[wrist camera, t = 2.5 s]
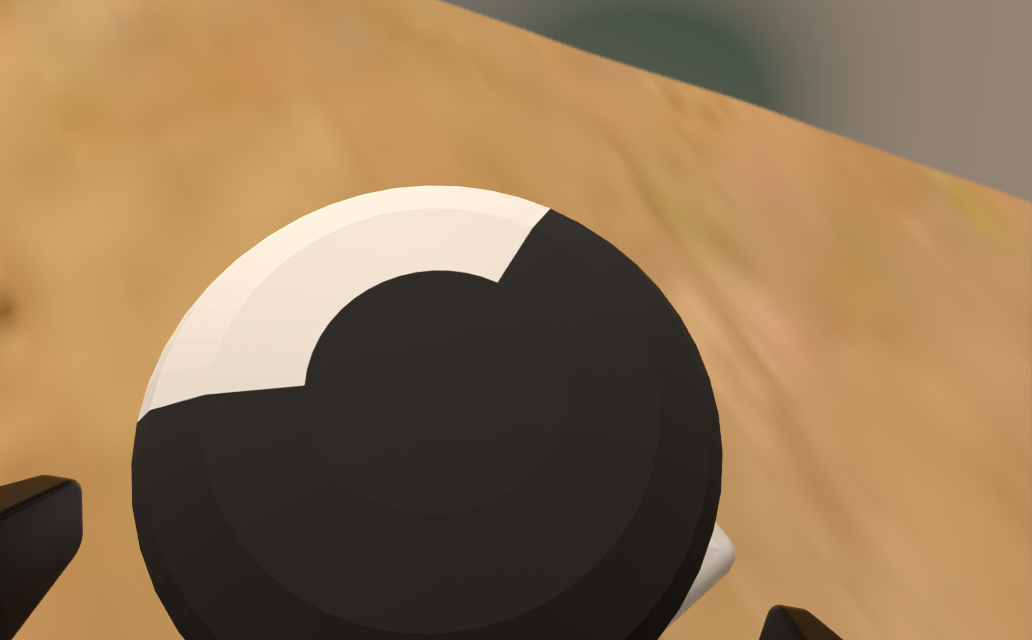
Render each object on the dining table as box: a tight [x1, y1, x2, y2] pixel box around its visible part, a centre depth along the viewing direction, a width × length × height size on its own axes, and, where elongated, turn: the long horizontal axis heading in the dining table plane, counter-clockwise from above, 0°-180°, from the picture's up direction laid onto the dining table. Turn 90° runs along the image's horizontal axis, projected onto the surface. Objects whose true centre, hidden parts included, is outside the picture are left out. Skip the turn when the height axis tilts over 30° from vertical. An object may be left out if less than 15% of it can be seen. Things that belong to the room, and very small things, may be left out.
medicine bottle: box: [131, 186, 735, 640], centre depth 11 cm, size 7×7×12 cm
